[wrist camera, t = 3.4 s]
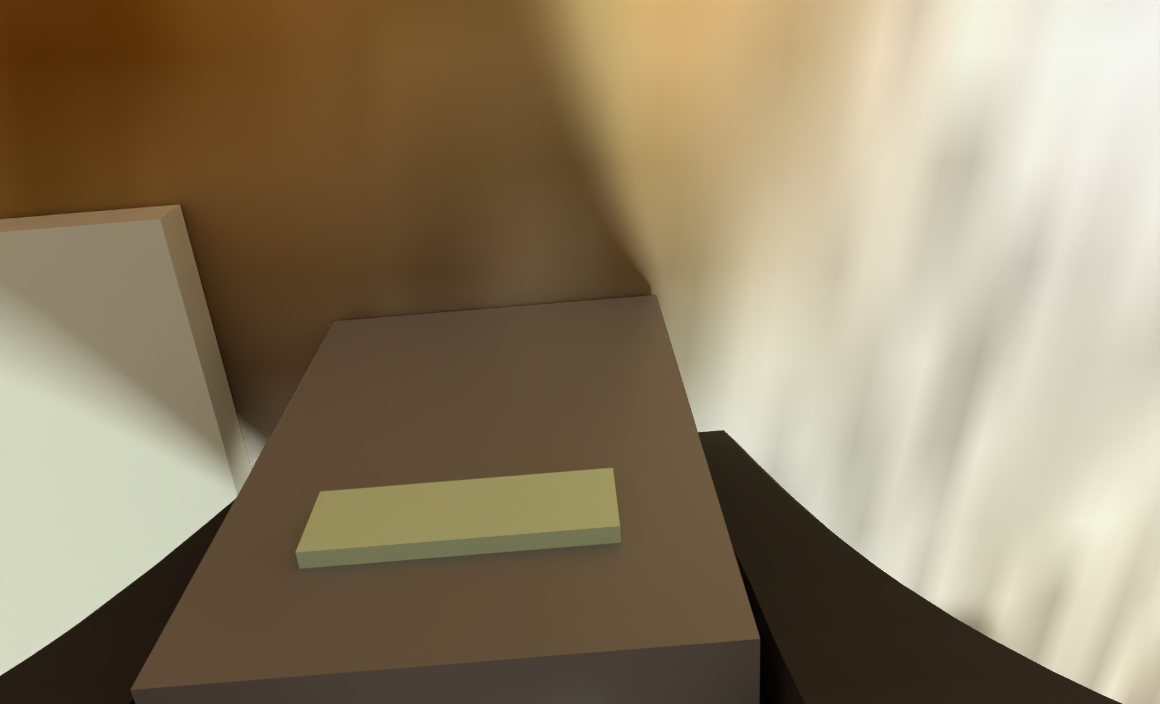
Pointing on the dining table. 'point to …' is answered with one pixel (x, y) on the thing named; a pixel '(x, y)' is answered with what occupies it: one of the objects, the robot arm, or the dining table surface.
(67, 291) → the coaster
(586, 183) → the dining table surface
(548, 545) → the block
